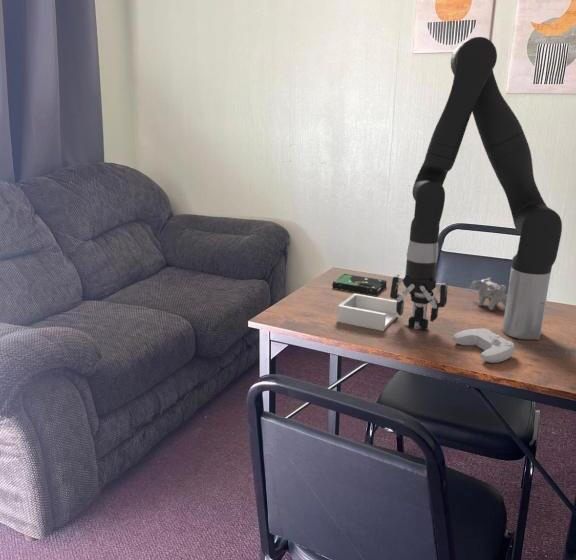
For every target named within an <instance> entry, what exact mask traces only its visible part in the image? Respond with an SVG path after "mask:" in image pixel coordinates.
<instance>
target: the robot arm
mask: <svg viewBox="0 0 576 560" xmlns="http://www.w3.org/2000/svg"><path fill="white" fill-rule="evenodd" d="M497 58H498V52H497V49H496V46H495V44H494V43H493V42H492V40H490V39H489V38H486V37H482V36H474V37H472V38H468V39H467V40H465V41H463V42H461V43H460V44H459V45H457V47H456V48H454V50H453V52H452V54H451V57H450V68H451V72H452V74H453V81H452V86H451V89H450V93H449V95H448V99H447V101H446V104H445V105H444V108H443V110H442V112H441V115H440V117H439V118H438V121H437V124H436V125H435V128H434V130H433V133H432V136H431V139H430V141H429V144H428V147H427V150H426V154H425V157H424V160H423V163H422V165H421V167H420V169H419V171H418V174H417V176H416V177H415V178H416V179H415V180H414V183H413V186H412V192H411V193H412V198H413V200H414V202H415V203H414V213H413V215H414V216H413V219H411V220H412V221H411V223H410V230H409V242H408V246H407V251H406V265H405V274H404V275H405V276H404V277H402V276H400V275H399V274H396V275H395V276H393V278H392V280H391V288H390V295H389V298H391V300H394V301H397V308H396V312H397V313H398V316H402V315H403V313H404V307H405V306H404V305H405V300H404V298H406V297H407V295H408V294H409V295H410V296H411V295H413V296H415V292H418V293H423V294H424V295H425V297H426V298H427V300H428V301H429V304H430V305H431V310H430V320H429V321H430V322H434V321H436V320H437V318H438V316H439V308H444V307H445V306H446V304H447V302H448V283H447V282H446V281H445V282H443V283H441V282H437V281H436V274H437V267H438V266H437V264H438V256H439V235H440V223H441V219H442V216H443V211H444V207H445V201H446V200H445V199H446V190H445V188H444V186H443V185H444V182H445V180H446V178H447V175H448V173H449V171H452V168H453V166H454V165H455V162H456V159H457V157H458V154H459V151H460V149H461V145H462V142H463V138H464V135H465V133H466V130H467V127H468V125H469V121H470V118H471V115H473V119H474V122H475V126H476V128H477V132H478V134H479V137H480V140H481V143H482V146H483V147H484V148H483V149H484V151H485V153H486V156H487V158H488V161H489V163H490V165H491V167H492V169H493V171H494V173H495V175H496V177H497V179H498V182H499V184H500V185H501V187H502V190H503V192H504V194H505V196H506V200H507V203H508V207H509V210H510V214H511V216H512V220H513V225H514V227H515V228H514V229H515V230H516V232H517V234H519V241H518V246H517V247H518V248H517V252H516V254H515V255H514V256H513V257H512V260H511V265H510V266H511V267H510V274H509V280H508V281H509V282H508V285H507V286H508V289H507V294H506V295H507V300H506V306H504V308H505V309H504V314H503V315H504V316H503V321H502V329H501V330H502V332H503V333H504V334H505V335H506V336H508V337H512V338H516V339H520V340H537V341H540V338H541V334H542V331H543V329H542V328H543V323H544V319H545V318H544V317H545V313H546V312H545V311H546V306H547V301H548V299H547V297H548V292H549V285H550V279H551V275H552V274H551V272H552V267H553V265H554V264H555V262H556V260H557V256H558V251H559V246H560V242H561V238H562V231H563V222H562V219H561V216H560V215H559V214H558V212H556V211H555V210H554V209H552V208H550V207H549V206H547V203H546V202H545V200H544V198H543V197H542V195H541V193H540V190H539V189H538V185H537V184H536V180H535V177H534V169H533V159H532V158H533V157H532V153H531V148H530V146H529V142H528V139H527V137H526V135H525V132H524V129H523V127H522V125H521V123H520V121H519V119H518V117H517V116H516V115H515V113H514V111H513V110H512V108H511V106H510V105H509V104H508V103H507V101H506V99H505V98H504V96H503V95H502V93H501V91H500V88H499V86H498V82H497V80H496V77H495V74H494V68H495V66H496V64H497V61H498V59H497ZM402 283H403V285H404V287H405V288H406V289H405V290H404V291H403V292H402V293H400V294H399V293H398V292H399V286H400V285H401V284H402ZM435 288H437V291H438V292H439V294H440V295H439V300H438V299H437V297H436V294H435V292H434V290H435Z"/></svg>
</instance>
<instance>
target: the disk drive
mask: <svg viewBox="0 0 576 560" xmlns="http://www.w3.org/2000/svg"><path fill="white" fill-rule="evenodd" d="M331 286H332V287H333V288H332V289H335V288H338V289H337V290H340V289H343V290H342V291H346V290H349V291H348V292H352V291H354V292H353V293H357V292H360V293H359V294H363V293H365V294H364V295H368V294H370V295H369V296H374V295H376V296H377V295H379V294H381V292H383V291H384V290H385V289H386V288H387V280H384V279H378V278H373V277H366V276H361V275H354V274H349V273H348V274H347V273H344V274H342V275H340V276H338V278H337V279H335V280H333V281H332V285H331ZM384 288H385V289H384ZM378 293H379V294H378Z"/></svg>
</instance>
